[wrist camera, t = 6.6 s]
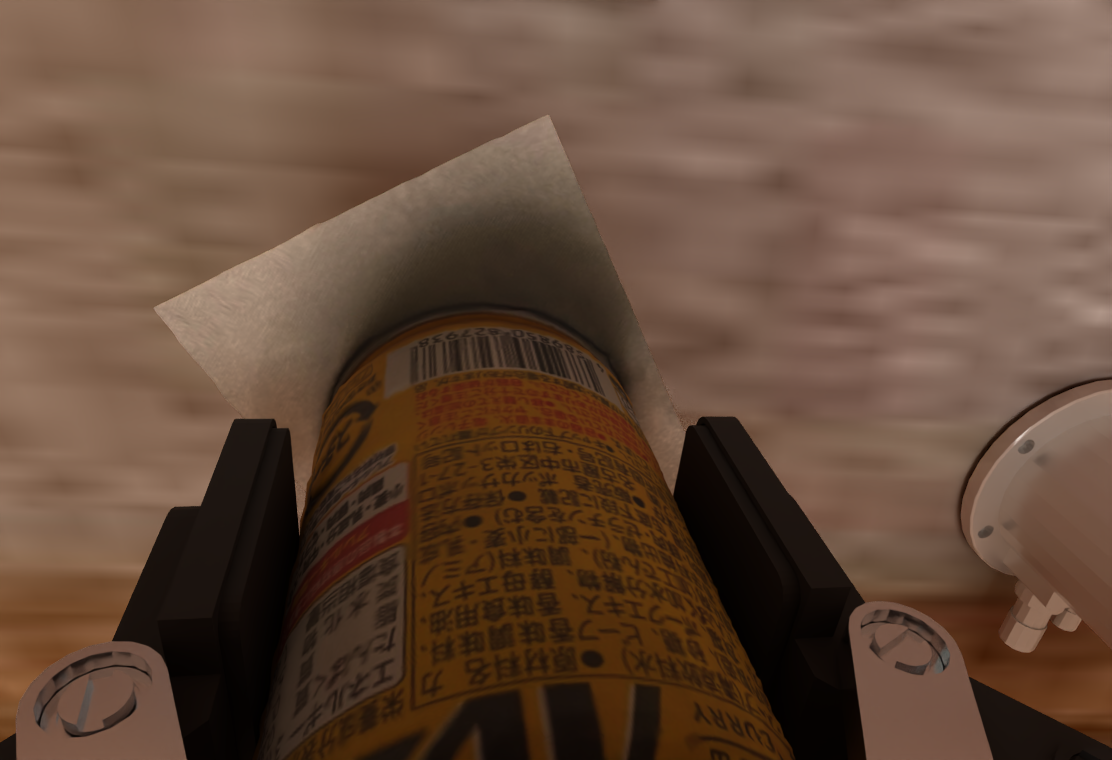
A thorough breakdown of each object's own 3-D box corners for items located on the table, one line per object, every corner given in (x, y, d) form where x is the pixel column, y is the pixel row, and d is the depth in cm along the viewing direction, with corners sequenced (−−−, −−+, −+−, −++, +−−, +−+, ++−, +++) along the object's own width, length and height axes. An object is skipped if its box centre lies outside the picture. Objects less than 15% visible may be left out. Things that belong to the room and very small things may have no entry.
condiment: (405, 610, 17) (396, 1597, 7) (156, 303, 13) (-830, 1687, 3) (703, 475, 17) (1170, 1325, 6) (545, 109, 12) (1189, 898, 2)
